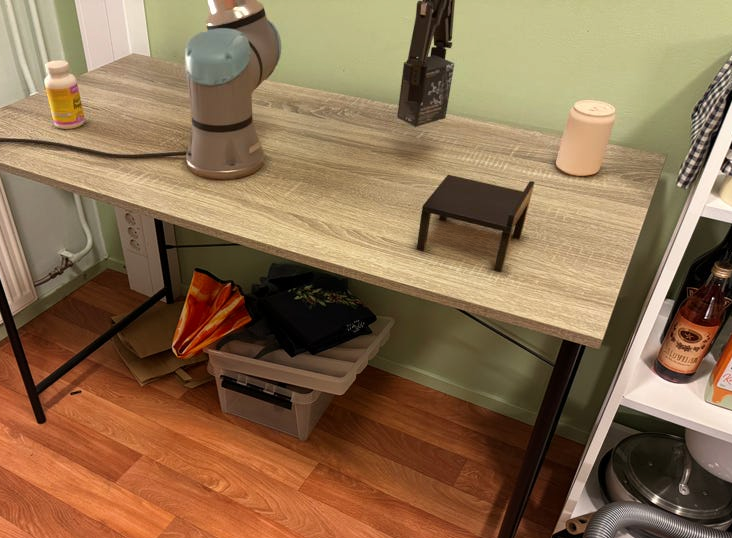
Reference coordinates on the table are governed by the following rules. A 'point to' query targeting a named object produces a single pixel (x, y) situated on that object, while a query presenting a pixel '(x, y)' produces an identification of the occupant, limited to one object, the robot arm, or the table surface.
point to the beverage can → (585, 137)
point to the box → (427, 93)
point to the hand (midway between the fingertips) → (424, 92)
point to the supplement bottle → (63, 96)
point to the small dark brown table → (478, 209)
